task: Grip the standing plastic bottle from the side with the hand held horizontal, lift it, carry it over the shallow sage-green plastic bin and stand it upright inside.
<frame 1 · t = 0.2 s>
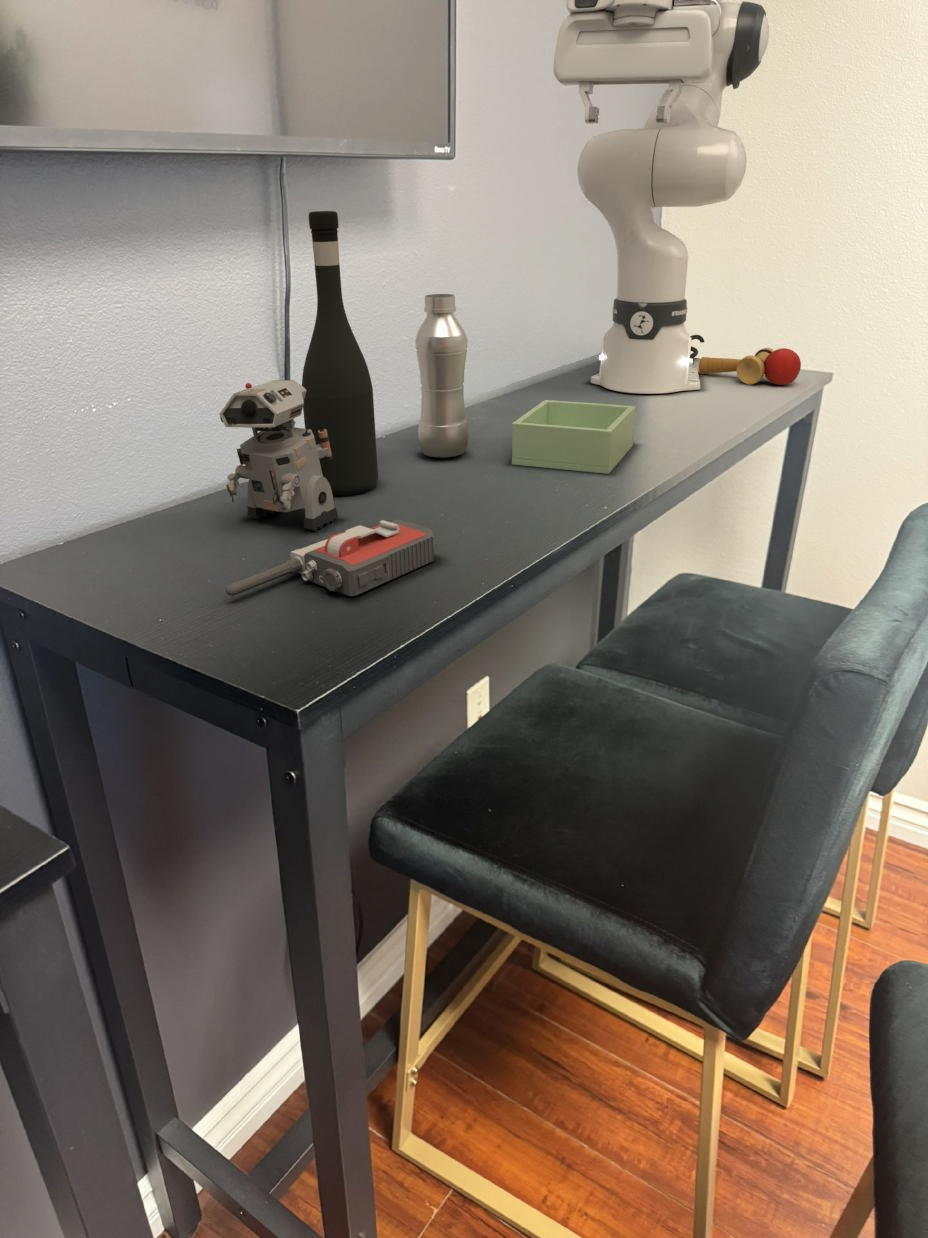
hand: (626, 122, 117), 39 cm above the table, tool pointing down, fingers open, 8 cm apart
wine bottle: (345, 488, 107), on the table
bin: (574, 454, 117), on the table
walkie-talkie: (340, 581, 83), on the table
kendama: (746, 381, 157), on the table
figurine: (281, 528, 95), on the table
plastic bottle: (444, 457, 118), on the table
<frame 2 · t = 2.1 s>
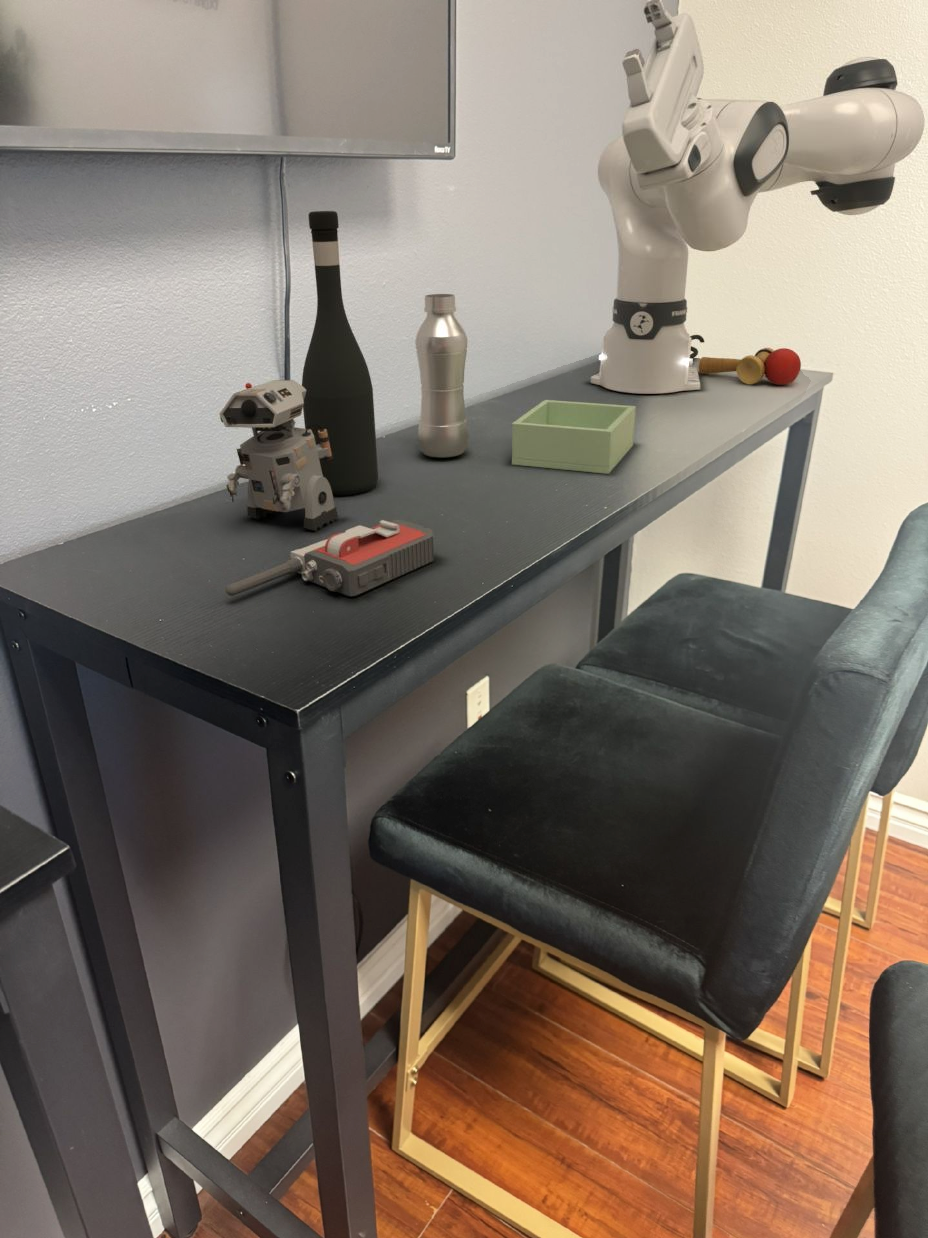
hand: (640, 27, 100), 47 cm above the table, tool pointing upward, fingers open, 8 cm apart
nothing on the table moved.
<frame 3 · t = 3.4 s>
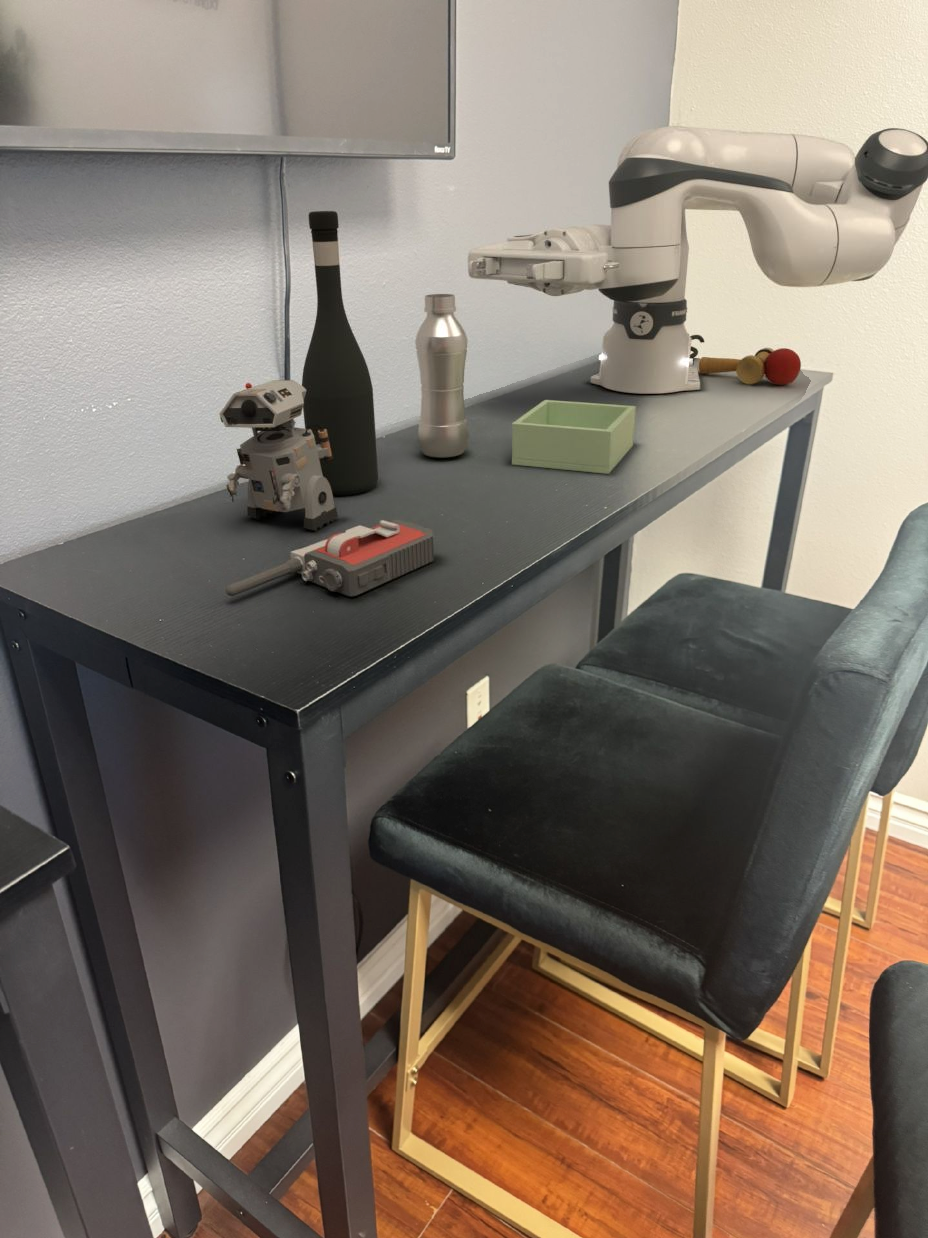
hand: (501, 270, 116), 22 cm above the table, tool horizontal, fingers open, 8 cm apart
nothing on the table moved.
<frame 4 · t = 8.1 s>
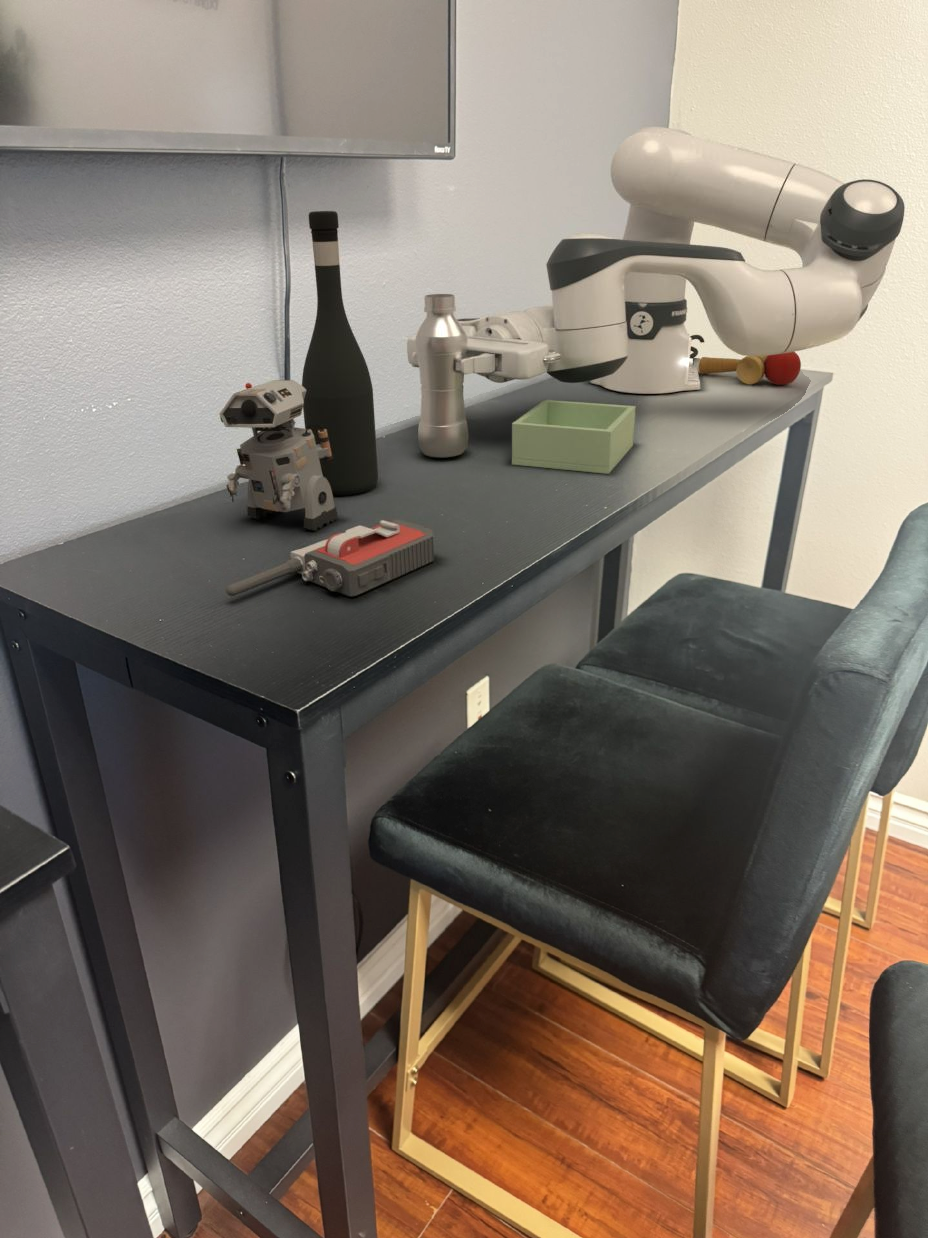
hand: (436, 363, 112), 12 cm above the table, tool horizontal, fingers closed on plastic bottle, 6 cm apart
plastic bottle: (444, 457, 118), on the table, touching gripper
everything else where it was.
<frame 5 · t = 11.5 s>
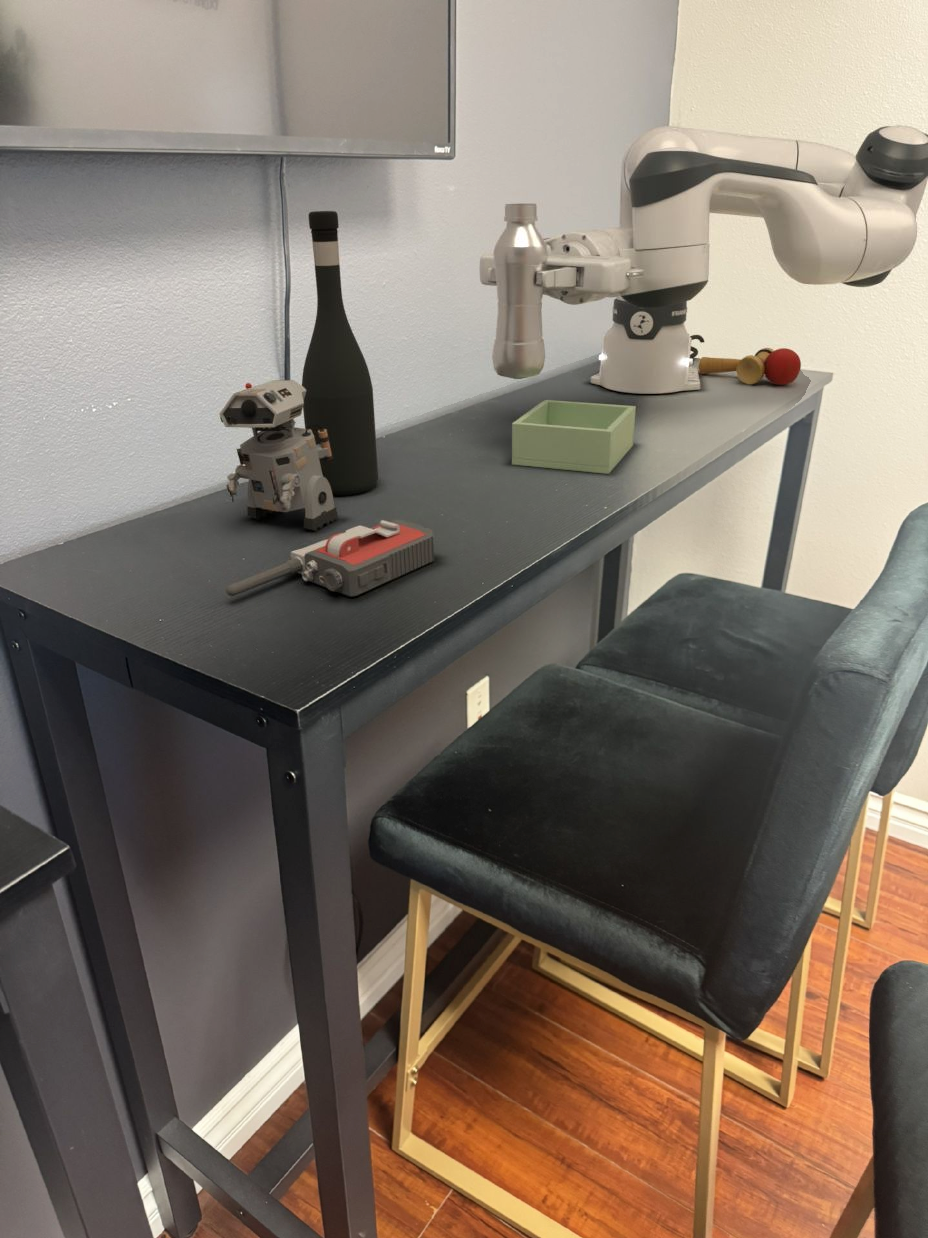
hand: (515, 277, 108), 22 cm above the table, tool horizontal, fingers closed on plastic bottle, 6 cm apart
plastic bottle: (518, 379, 114), point 10 cm above the table, touching gripper
everything else where it was.
when the fingers open (13 cm above the table, at t = 15.5 s): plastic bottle stays where it is, resting on bin.
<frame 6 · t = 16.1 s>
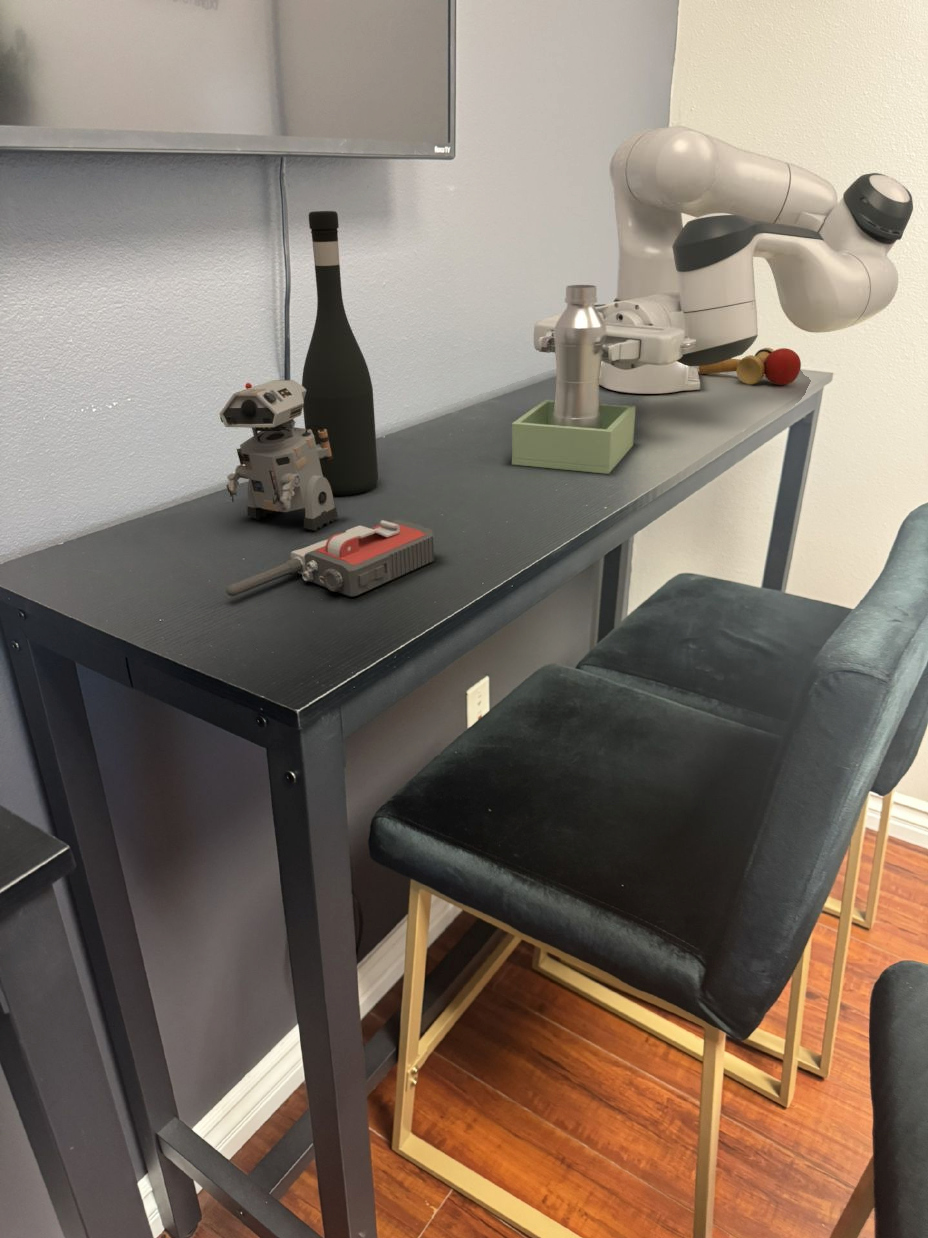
hand: (573, 349, 111), 14 cm above the table, tool horizontal, fingers open, 8 cm apart
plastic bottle: (575, 450, 117), point 1 cm above the table, touching bin
everything else where it was.
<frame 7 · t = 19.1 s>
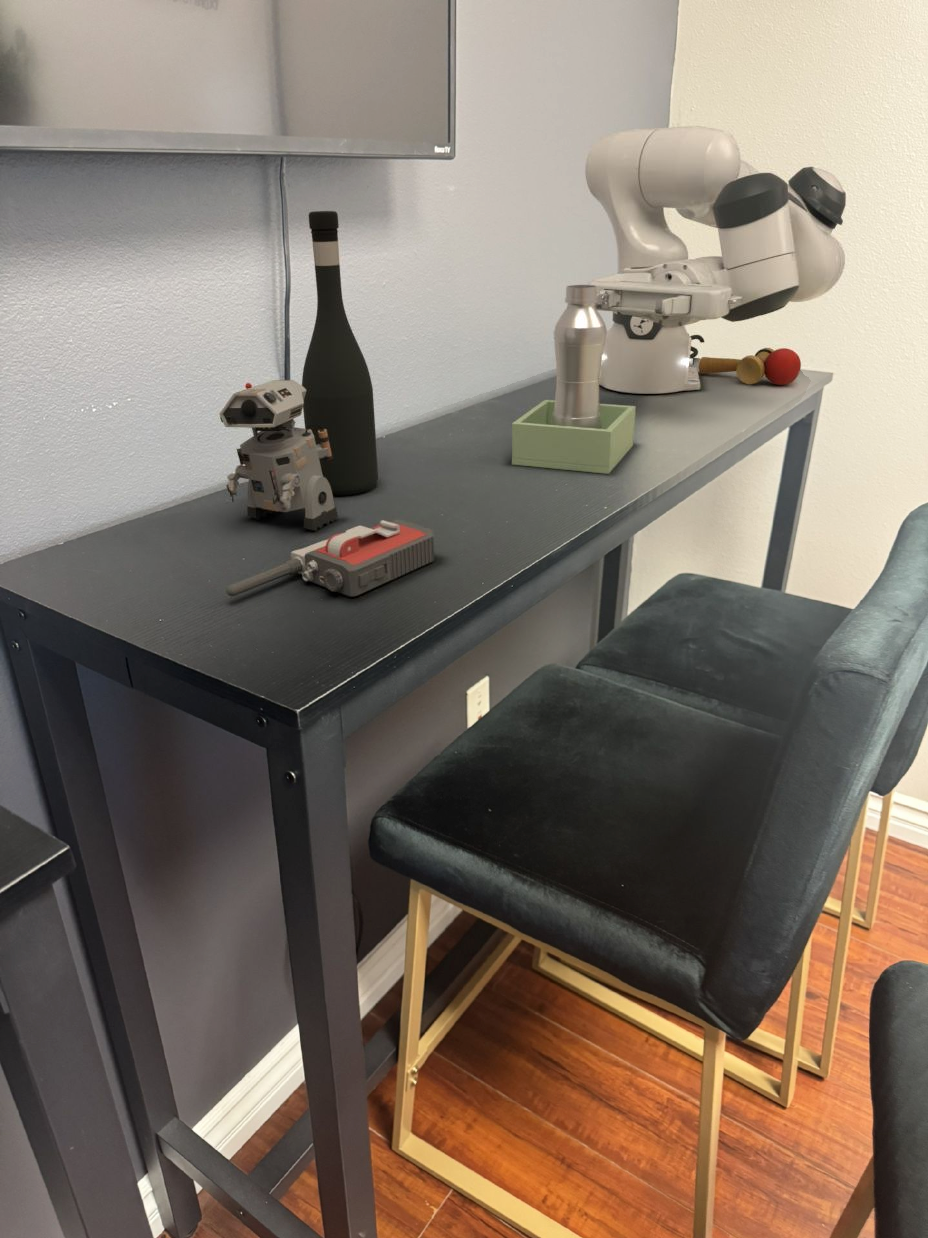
hand: (628, 304, 118), 17 cm above the table, tool horizontal, fingers open, 8 cm apart
nothing on the table moved.
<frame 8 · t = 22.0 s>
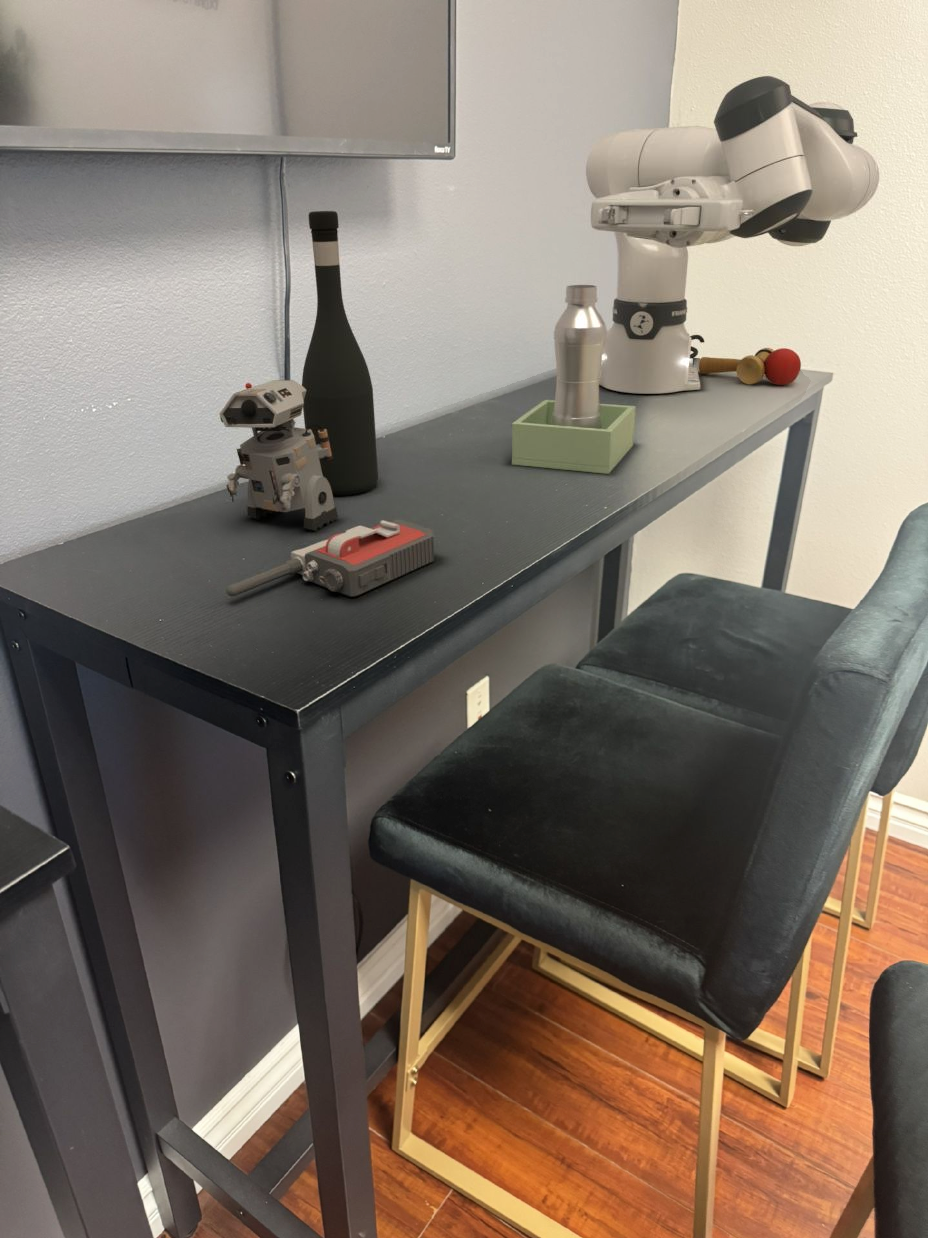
hand: (635, 216, 113), 28 cm above the table, tool horizontal, fingers open, 8 cm apart
nothing on the table moved.
at the end: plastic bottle inside the target area in the bin (0.1 cm from its centre), point 0.6 cm above the bin's base; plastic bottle tilted 0°; the gripper is holding nothing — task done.
